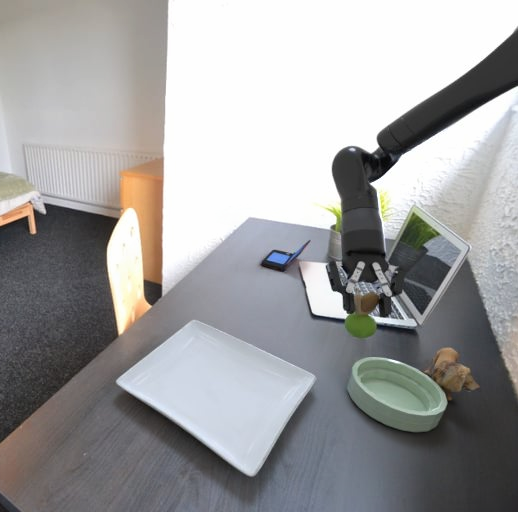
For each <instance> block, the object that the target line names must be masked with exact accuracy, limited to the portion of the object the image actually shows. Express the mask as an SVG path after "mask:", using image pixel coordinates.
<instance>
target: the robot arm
mask: <svg viewBox="0 0 518 512" xmlns="http://www.w3.org/2000/svg"><path fill="white" fill-rule="evenodd" d="M517 87H518V26H516V28H515V29H514V30H513V31H512V33H510V35H509V36H508V37H507V38H505V40H503V41H502V42H501V43H500V44H499V45H498V46H497V47H495V48H494V50H492V51H491V52H490V53H489V54H488V55H486V56H485V57H484V58H483V59H482V60H481V61H480V62H478V63H476V64H475V66H473V67H472V68H470V69H469V70H467V72H465V73H464V74H463V75H461V76H460V77H458V78H457V79H455V80H453V81H452V82H451V83H450V84H448V85H446V86H445V87H443V88H442V89H440V90H438V91H437V92H435V93H433V94H432V95H430V96H429V97H427V98H426V99H423V100H422V101H421V102H419V103H418V104H416V105H414V106H413V107H411V108H410V109H409V110H407V111H405V112H404V113H403V114H401V115H400V116H399V117H397V118H396V119H395V120H393V121H392V122H390V123H389V124H388V125H386V126H385V127H383V128H382V129H381V130H379V132H378V133H377V135H376V138H375V140H376V143H377V145H378V147H377V148H376V149H375V150H374V151H372V152H370V151H369V150H366V149H364V148H362V147H361V146H358V145H347V146H345V147H343V148H340V150H338V151H337V152H336V154H335V155H334V157H333V159H332V162H331V175H332V176H331V177H332V179H333V183H334V186H335V188H336V189H335V190H336V191H337V195H338V196H339V198H340V230H339V234H340V247H341V257H342V258H341V260H340V261H335V260H330V261H329V262H328V263H326V264H325V271H326V274H327V277H328V283H329V285H330V289H331V291H332V292H334V293H335V292H336V293H339V294H340V295H341V296H342V297H341V298H342V309H343V311H344V312H346V313H345V314H347V315H349V314H353V313H354V312H355V306H354V295H355V293H353V291H354V289H355V288H356V287H355V286H356V285H357V283H361V282H362V283H367V284H370V285H371V287H372V288H373V289H374V290H375V291H376V292H375V293H377V294H378V295H379V297H380V300H379V303H378V315H379V318H384V319H385V318H388V317H389V316H390V315H391V314H392V312H393V308H392V298H395V297H396V296H400V295H401V294H403V289H404V284H405V278H406V267H405V266H403V265H399V266H396V265H393V264H390V263H389V261H388V259H387V249H386V248H387V247H386V238H385V227H384V225H385V224H384V220H383V217H382V210H381V209H382V208H381V199H380V193H379V191H378V189H377V188H376V187H375V186H373V184H374V183H376V182H379V180H380V179H382V178H383V177H385V176H386V175H387V174H388V173H389V172H391V170H392V169H393V168H394V167H395V166H397V165H398V163H399V162H400V161H401V160H402V159H403V158H404V157H405V156H406V155H408V154H410V153H412V152H413V151H414V150H416V149H418V148H419V147H421V146H423V145H424V144H426V143H428V142H429V141H431V140H432V139H434V138H436V137H437V136H438V135H440V134H441V133H443V132H444V131H446V130H447V129H449V128H451V127H452V126H454V125H455V124H457V123H459V121H461V120H463V119H464V118H466V117H468V116H469V115H470V114H472V113H473V112H475V111H476V110H478V109H479V108H481V107H483V106H485V105H486V104H489V102H492V101H494V100H495V99H496V98H498V97H501V96H502V95H504V94H506V93H508V92H509V91H511V90H513V89H516V88H517ZM341 269H342V270H343V271H344V272H345V274H346V275H347V276H346V278H345V281H344V283H343V282H342V279H341V275H340V271H341ZM386 272H388V276H389V277H390V283H389V282H388V280H387V278H386V276H385V275H384V274H385V273H386ZM343 284H344V285H343ZM388 284H389V285H388Z"/></svg>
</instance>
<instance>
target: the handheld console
mask: <svg viewBox="0 0 518 512" xmlns="http://www.w3.org/2000/svg"><path fill="white" fill-rule="evenodd" d="M310 243H311V239H309V240H307V242H305V243H304V244H303V245H302V246H301V247H300V248H299V249H298V250H297V251H296V252H293V253H292V252H287V251H283V250H280V249H272V250H271V251H270V252H269V253H268V254H266V256H265V257H264V258H263V260H262V261H261V262H260V265H261V266H263V267H267V268H271V269H274V270H278V271H282V272H285V271H287V269H288V267H289V266H290V264H291V263H293V262H294V261H295V260H296V259H297V258H298V257H299V256H300V255H301V254H302V253H303V252H304V250H305V249H306V248H307V247H308V246H309V244H310Z"/></svg>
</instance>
